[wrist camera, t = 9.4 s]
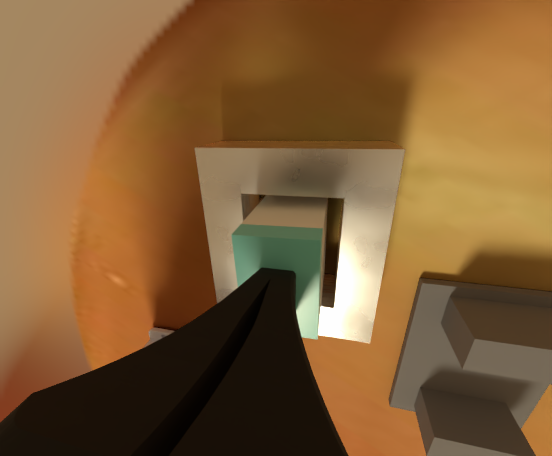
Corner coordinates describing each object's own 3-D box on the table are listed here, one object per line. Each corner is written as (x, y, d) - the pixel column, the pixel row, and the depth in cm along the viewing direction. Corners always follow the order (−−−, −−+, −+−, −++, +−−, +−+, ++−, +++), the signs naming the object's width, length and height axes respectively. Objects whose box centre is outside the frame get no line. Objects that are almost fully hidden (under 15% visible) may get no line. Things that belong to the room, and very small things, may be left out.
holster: (388, 399, 19) (398, 455, 16) (419, 277, 15) (441, 322, 12) (513, 424, 17) (551, 492, 14) (592, 296, 13) (672, 354, 10)
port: (237, 288, 18) (219, 318, 15) (222, 140, 14) (194, 147, 11) (365, 305, 16) (369, 343, 14) (390, 141, 12) (405, 149, 9)
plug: (274, 257, 16) (242, 328, 11) (271, 189, 15) (231, 234, 9) (325, 262, 16) (317, 339, 10) (328, 190, 14) (320, 240, 9)
